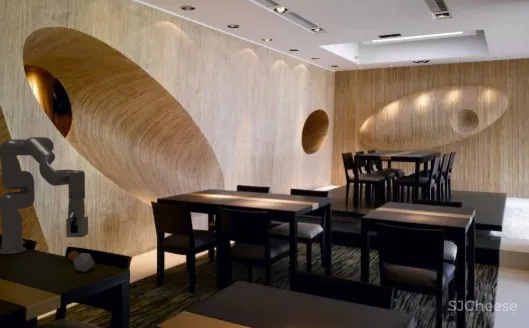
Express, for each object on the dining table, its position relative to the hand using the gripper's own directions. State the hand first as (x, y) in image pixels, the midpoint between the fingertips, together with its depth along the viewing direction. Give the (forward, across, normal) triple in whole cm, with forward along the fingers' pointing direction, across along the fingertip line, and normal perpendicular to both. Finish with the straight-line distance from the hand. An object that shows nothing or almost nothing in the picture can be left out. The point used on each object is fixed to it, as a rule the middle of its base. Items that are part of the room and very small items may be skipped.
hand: (77, 230), depth 217 cm
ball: (+13, 0, -2) cm, 13 cm away
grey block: (+2, 0, 0) cm, 2 cm away
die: (+15, +16, +9) cm, 24 cm away
